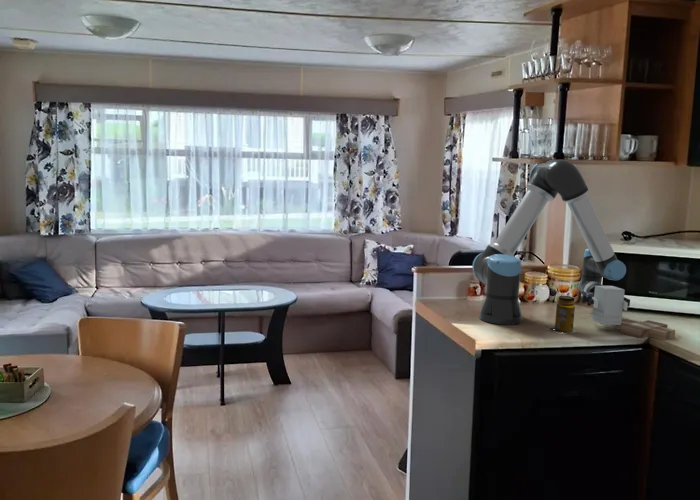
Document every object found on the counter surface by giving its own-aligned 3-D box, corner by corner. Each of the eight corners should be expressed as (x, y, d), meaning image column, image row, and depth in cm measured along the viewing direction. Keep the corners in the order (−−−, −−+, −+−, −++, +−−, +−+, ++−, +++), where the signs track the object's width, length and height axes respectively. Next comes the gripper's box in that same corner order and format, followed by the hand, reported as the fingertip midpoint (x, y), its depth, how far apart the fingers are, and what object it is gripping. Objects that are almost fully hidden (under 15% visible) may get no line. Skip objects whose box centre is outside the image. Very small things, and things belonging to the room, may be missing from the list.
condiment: (578, 332, 225) (581, 298, 223) (562, 334, 220) (565, 300, 218) (561, 327, 231) (563, 294, 229) (545, 329, 226) (547, 296, 224)
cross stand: (655, 342, 215) (656, 334, 214) (606, 329, 229) (606, 322, 229) (682, 335, 226) (683, 327, 225) (633, 323, 240) (634, 316, 239)
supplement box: (621, 325, 226) (625, 289, 224) (602, 325, 224) (606, 289, 223) (609, 320, 233) (613, 285, 231) (590, 319, 232) (594, 285, 230)
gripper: (625, 305, 244) (643, 318, 222) (565, 300, 247) (577, 313, 225) (627, 285, 243) (645, 297, 221) (567, 281, 246) (580, 292, 224)
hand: (611, 305), depth 223 cm, fingers closed on supplement box, 9 cm apart
